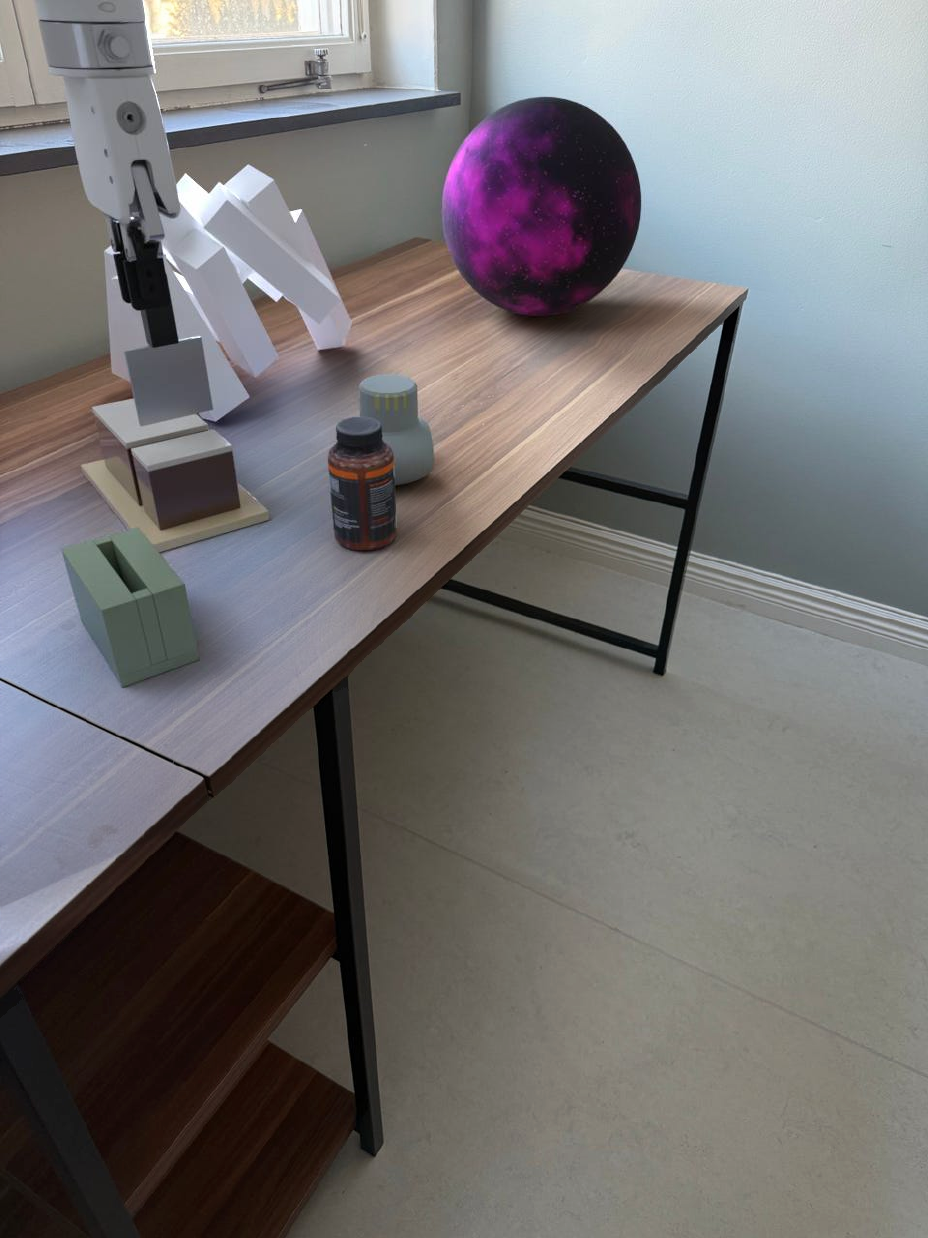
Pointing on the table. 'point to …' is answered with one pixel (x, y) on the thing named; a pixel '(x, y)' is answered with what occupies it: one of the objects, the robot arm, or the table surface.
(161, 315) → the knife
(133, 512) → the cake
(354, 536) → the supplement bottle
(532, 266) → the purple galaxy ball
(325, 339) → the pile of blocks
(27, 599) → the table surface
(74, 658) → the table surface
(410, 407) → the air freshener
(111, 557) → the knife block
